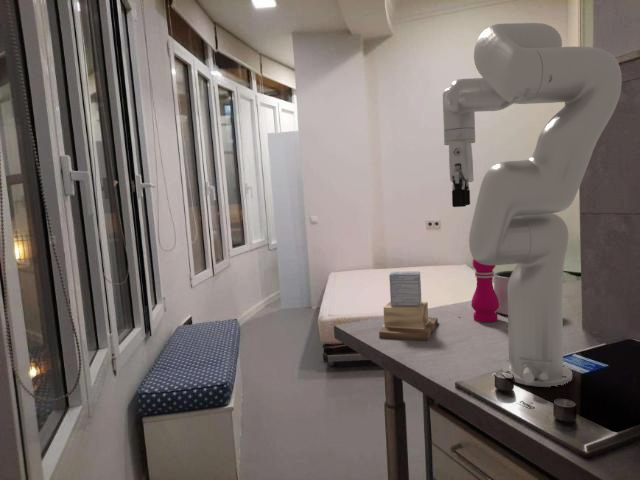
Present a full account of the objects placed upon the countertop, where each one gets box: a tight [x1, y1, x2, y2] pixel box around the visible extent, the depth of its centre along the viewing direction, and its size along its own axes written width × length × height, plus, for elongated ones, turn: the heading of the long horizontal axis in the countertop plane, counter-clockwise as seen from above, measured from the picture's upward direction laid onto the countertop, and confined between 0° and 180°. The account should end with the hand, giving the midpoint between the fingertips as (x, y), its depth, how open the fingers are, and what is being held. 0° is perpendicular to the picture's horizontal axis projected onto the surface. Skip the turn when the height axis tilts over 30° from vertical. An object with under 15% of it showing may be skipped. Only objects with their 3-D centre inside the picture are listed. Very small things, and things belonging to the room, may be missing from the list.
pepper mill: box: [471, 258, 499, 323], centre depth 130 cm, size 7×7×20 cm
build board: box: [378, 316, 439, 342], centre depth 126 cm, size 16×12×2 cm
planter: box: [493, 270, 513, 317], centre depth 137 cm, size 13×13×11 cm
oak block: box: [383, 300, 429, 328], centre depth 127 cm, size 8×10×5 cm
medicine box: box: [388, 270, 422, 306], centre depth 126 cm, size 8×4×9 cm, turn 76°
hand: (461, 205), depth 121 cm, fingers open, 9 cm apart
